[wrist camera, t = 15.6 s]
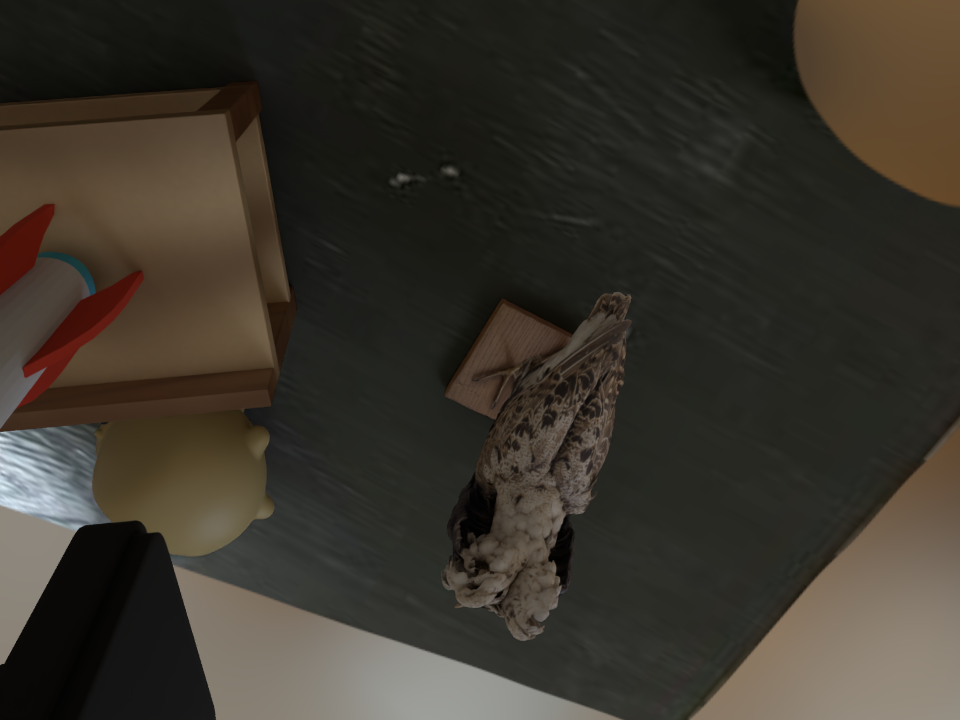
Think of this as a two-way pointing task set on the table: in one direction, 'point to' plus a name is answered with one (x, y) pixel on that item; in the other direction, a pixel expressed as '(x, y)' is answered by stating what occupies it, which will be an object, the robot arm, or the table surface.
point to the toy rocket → (46, 310)
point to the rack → (157, 248)
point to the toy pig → (184, 477)
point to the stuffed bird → (532, 455)
